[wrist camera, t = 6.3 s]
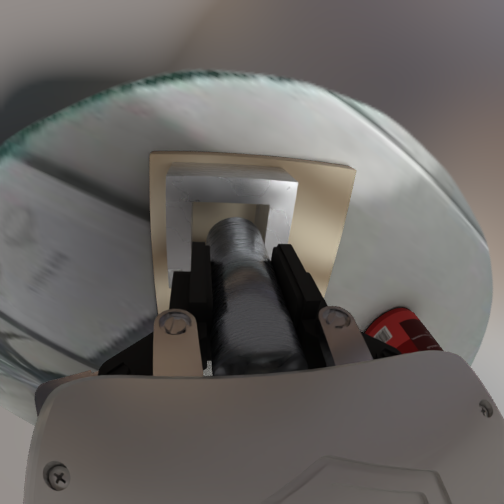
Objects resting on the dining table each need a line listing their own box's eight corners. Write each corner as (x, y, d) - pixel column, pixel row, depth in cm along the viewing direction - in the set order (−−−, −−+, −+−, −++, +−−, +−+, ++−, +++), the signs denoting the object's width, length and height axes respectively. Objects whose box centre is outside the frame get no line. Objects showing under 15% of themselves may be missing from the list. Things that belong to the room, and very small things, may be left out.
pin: (258, 265, 15) (297, 396, 9) (205, 265, 15) (213, 403, 8) (264, 217, 14) (318, 344, 7) (206, 216, 14) (212, 351, 7)
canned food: (356, 361, 33) (391, 432, 23) (362, 317, 28) (410, 398, 19) (406, 341, 33) (446, 403, 23) (418, 297, 29) (472, 363, 19)
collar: (268, 260, 21) (279, 288, 18) (173, 259, 20) (168, 288, 17) (282, 167, 18) (298, 182, 15) (172, 162, 17) (165, 175, 14)
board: (307, 328, 28) (311, 336, 27) (162, 331, 25) (161, 340, 24) (348, 166, 20) (356, 170, 19) (152, 151, 17) (149, 154, 16)
